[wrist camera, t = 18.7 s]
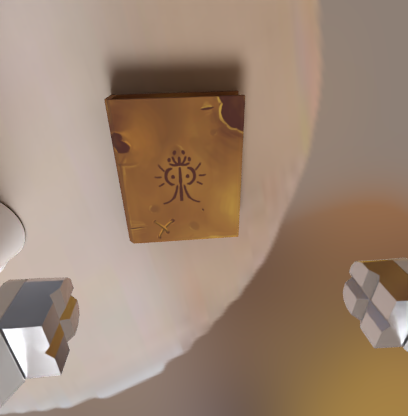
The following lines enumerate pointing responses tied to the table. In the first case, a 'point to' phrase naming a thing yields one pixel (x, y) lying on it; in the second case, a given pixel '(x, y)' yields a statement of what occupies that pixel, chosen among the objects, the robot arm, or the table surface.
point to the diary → (178, 163)
